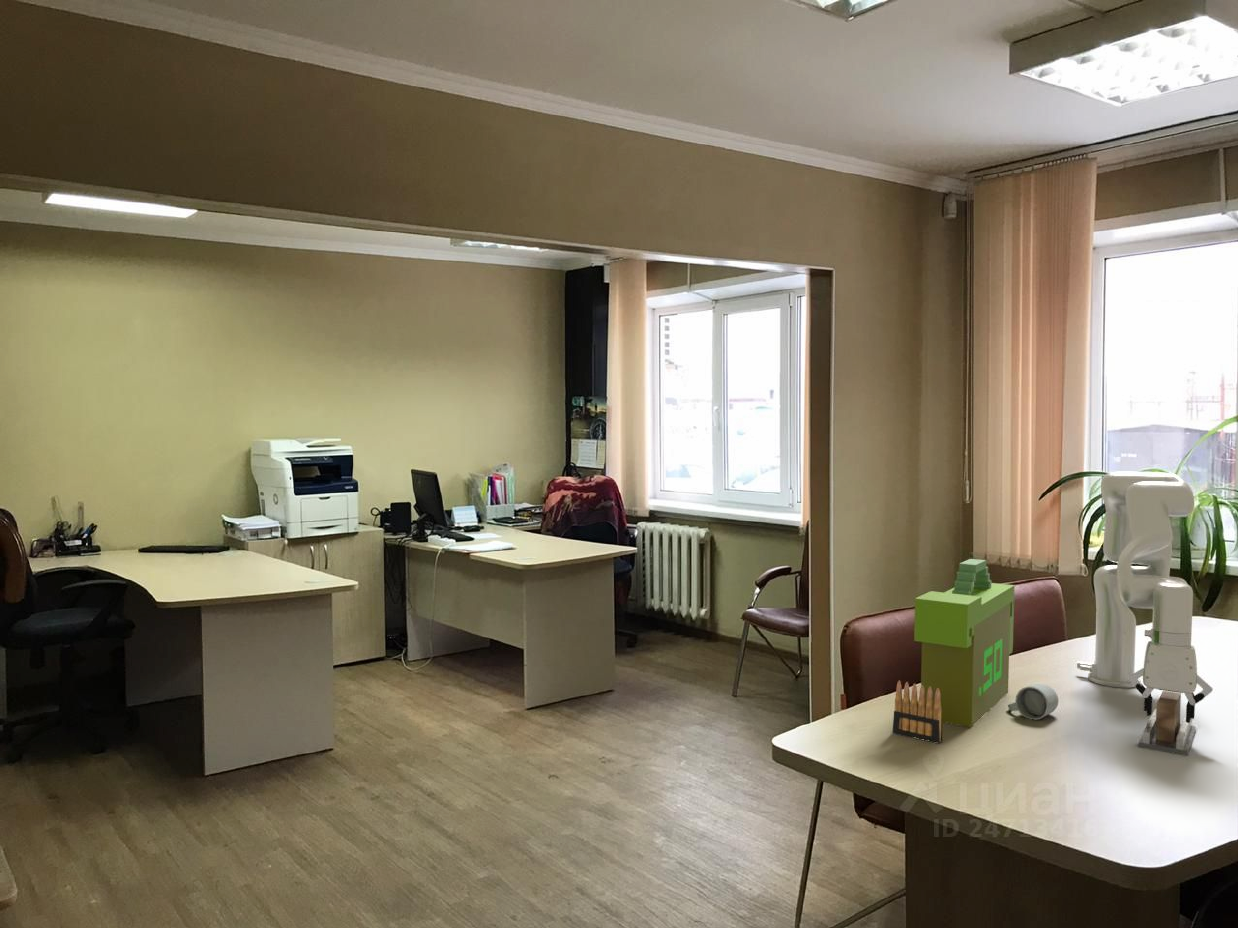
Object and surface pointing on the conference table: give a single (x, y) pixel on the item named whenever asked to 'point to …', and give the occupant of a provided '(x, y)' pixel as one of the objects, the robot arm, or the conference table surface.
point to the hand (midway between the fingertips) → (1168, 717)
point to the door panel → (1168, 716)
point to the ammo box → (966, 643)
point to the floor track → (1177, 747)
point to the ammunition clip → (918, 714)
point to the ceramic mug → (1035, 701)
